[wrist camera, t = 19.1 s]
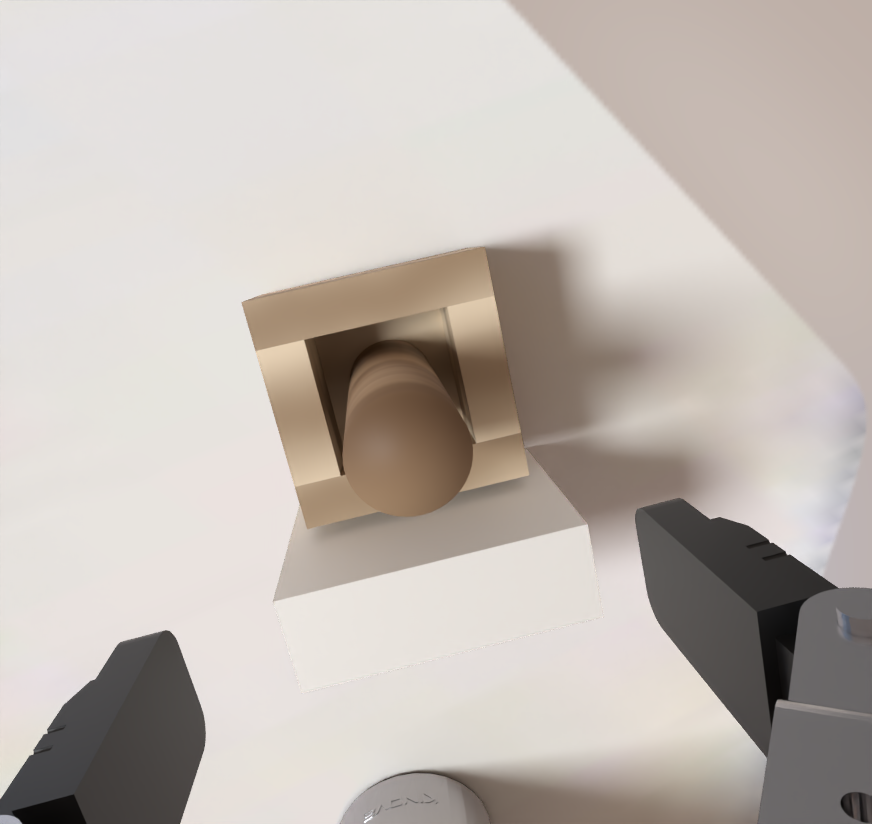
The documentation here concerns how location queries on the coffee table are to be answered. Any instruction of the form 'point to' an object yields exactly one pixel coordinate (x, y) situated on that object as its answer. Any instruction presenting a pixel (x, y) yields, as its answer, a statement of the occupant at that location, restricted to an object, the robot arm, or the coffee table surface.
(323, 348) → the socket block
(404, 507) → the dowel
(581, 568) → the wall
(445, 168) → the coffee table surface
